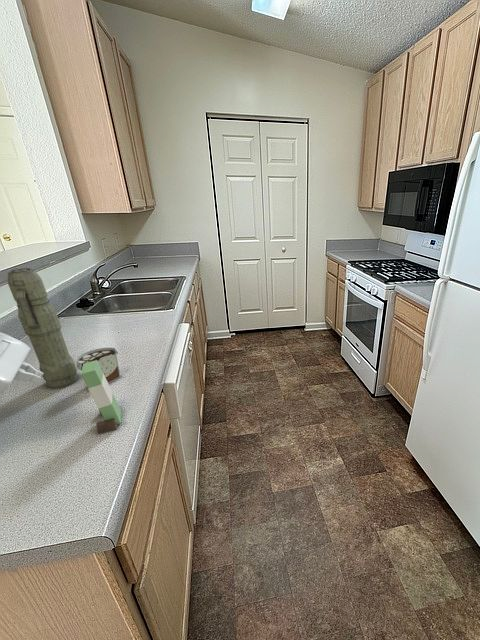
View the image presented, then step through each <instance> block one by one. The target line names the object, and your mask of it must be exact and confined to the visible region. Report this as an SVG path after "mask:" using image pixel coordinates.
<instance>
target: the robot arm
mask: <svg viewBox="0 0 480 640" xmlns="http://www.w3.org/2000/svg"><path fill="white" fill-rule="evenodd" d="M30 351H31V347H30V346H29V345H28V344H26V343H24V342H23V341H21V340H19V339H17V338H15V337H13V336H11V335H9V334H7V333H4V332H1V331H0V395H3V394H4V393H5V392H6V391H7V390H8V389H9V387H10V386H11V384H12V383H13V381H14V380H16V381H20V382H21V381H22V382H30V383H32V384H35V385H38V384H39V383H40V382H41V381H42V379H43V372H41V371H40V370H38V369H36V368H35V367H34V366H32V365H31V363H28V362H26V361H25V360H26V358H27V357H28V355H29V353H30Z"/></svg>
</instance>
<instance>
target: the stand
mask: <svg viewBox="0 0 480 640" xmlns="http://www.w3.org/2000/svg"><path fill="white" fill-rule="evenodd" d="M97 409H98V411H99V414H100V416H102V414H101V412H100V410H99V408H98V407H97ZM102 417H103V416H102ZM95 427H96V430H97V433H98V435H100V434H104V433H108V432H111V431H116V430H117V429H118V424H116V421H115V418H112V419H108V420H100V421H96V423H95Z"/></svg>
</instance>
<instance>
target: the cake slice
mask: <svg viewBox="0 0 480 640" xmlns="http://www.w3.org/2000/svg"><path fill="white" fill-rule="evenodd" d="M117 350H118V349H116V348H115V347H101V348H100V347H99V348H95V349H92V350H89V351H85V352H83V353H81V354H80V355H79V356H77V358H76V361H75V362H76V363H75V364H76V369H77V370H79V371H82V367H83V364H84V363H88V362H91V361H95V360H97V362H98V364H99V366H100V368H101V370H102V372H103V374H104V376H105V378H106V380H107V382H108V384H111V383H113V382H114V381H117V380H119V379H120V378H121V372H120V367H119V361H118V356H117V355H118V354H119V352H118V351H117Z"/></svg>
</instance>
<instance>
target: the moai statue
mask: <svg viewBox="0 0 480 640" xmlns="http://www.w3.org/2000/svg"><path fill="white" fill-rule="evenodd" d="M7 285H8V287H9V290H10V292H11V295H12V297H13V300H14V301H15V302H16V307H17V317H18V319H19V321H20V324H21V327H22V329H23V331H24V334H25V335H26V336H27V337H28V338H29V341H30V343H31V345H32V348H33V350H34V353H35V355H36V358H37V360H38V363H39V371H40V372H43V377H42V379H43V380H44V381H45V383H46V386H47V388H49V389H60V388H61V389H62V388H65V387H68V386H71V385H73V384H75V383H76V382H77V381H78V380H79V379H80V376H79V373H78V368H77V365H76V363H75V361H74V357H72V356H71V355H70V353H69V349H68V346H67V344H66V341H65V339H64V336H63V333H62V330H61V328H62V325H61V321H60V320H59V316H58V314H57V310H56V308H54V306H53V304H51V301H50V299H49V298H48V292H47V289H46V287H45V284H44V281H43V279H42V277H41V276H40V275H39V274H38V272H37V271H36V270H35V269H32V268H30V267H29V268H27V267H25V268H24V267H23V268H16V269H11V270H9V272H7Z"/></svg>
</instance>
